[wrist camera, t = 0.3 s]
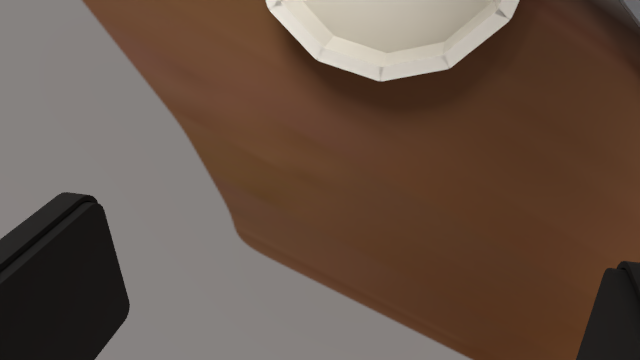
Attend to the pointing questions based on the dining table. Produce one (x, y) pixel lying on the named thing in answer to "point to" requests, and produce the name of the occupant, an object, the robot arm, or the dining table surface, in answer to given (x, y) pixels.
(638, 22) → the square frame
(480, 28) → the bowl
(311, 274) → the dining table surface
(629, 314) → the robot arm
